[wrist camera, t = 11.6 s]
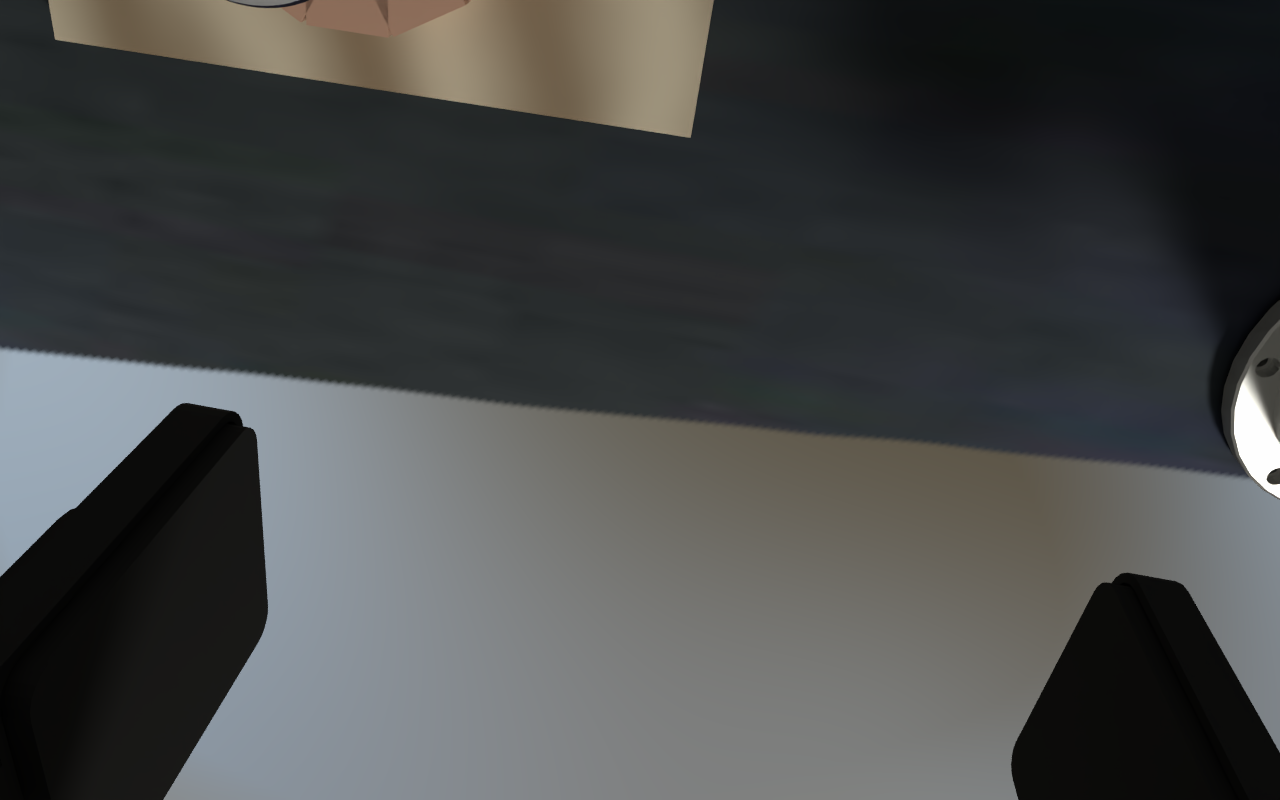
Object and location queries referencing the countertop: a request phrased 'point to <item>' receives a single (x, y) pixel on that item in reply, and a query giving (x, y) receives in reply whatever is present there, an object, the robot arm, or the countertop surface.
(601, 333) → the countertop surface
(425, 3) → the segmented ring
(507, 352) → the countertop surface
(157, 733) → the robot arm
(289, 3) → the beverage can
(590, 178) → the countertop surface
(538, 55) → the base board
